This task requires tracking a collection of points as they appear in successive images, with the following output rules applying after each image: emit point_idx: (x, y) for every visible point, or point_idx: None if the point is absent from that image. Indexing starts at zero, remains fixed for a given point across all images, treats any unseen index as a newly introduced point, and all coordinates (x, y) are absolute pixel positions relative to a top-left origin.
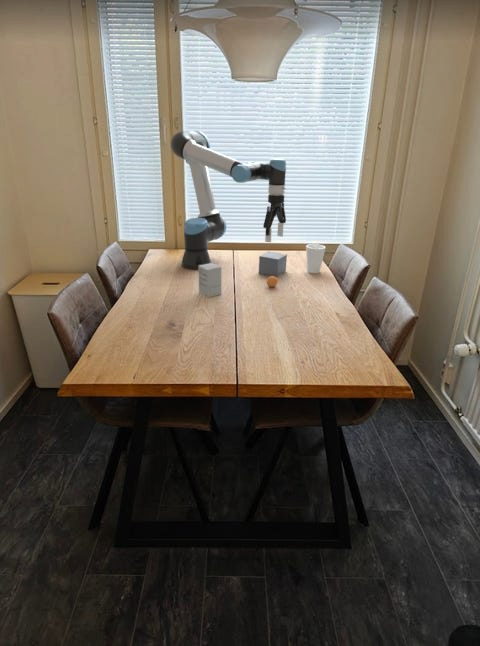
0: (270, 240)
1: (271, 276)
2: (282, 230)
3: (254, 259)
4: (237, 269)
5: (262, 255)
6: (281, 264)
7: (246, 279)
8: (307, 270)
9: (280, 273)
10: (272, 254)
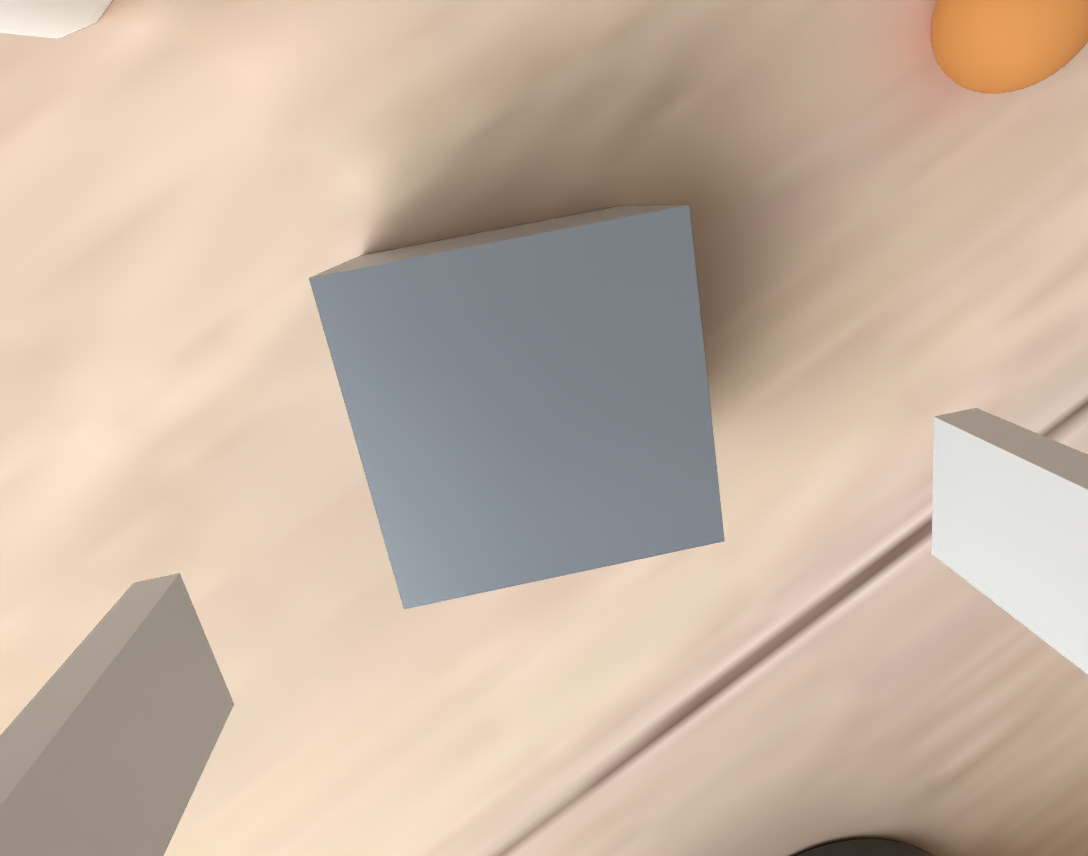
0: (1011, 425)
1: (1084, 1)
2: (78, 711)
3: (298, 766)
4: (702, 661)
5: (670, 527)
6: (520, 231)
7: (911, 404)
8: (99, 3)
9: (525, 224)
10: (510, 456)
